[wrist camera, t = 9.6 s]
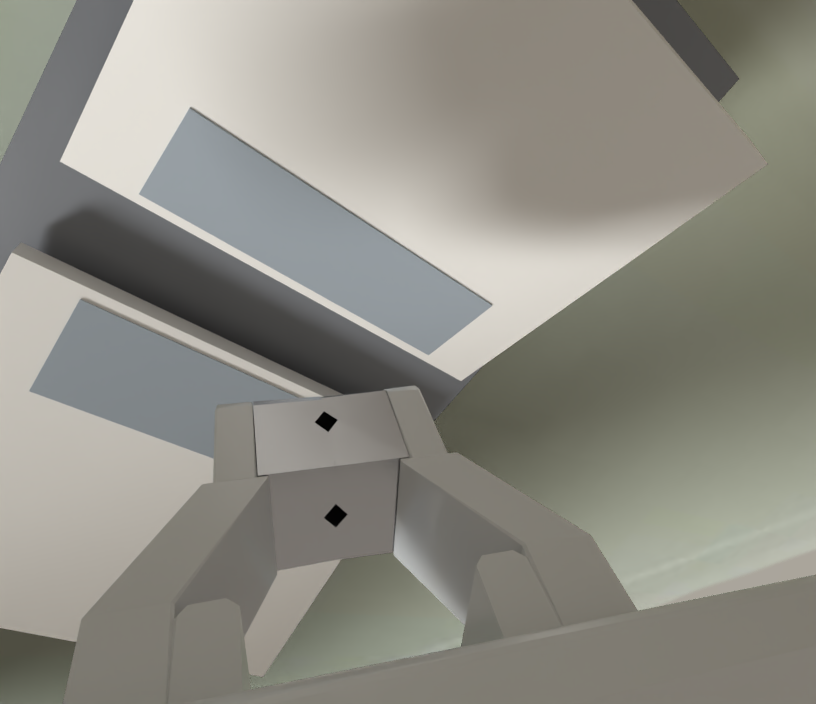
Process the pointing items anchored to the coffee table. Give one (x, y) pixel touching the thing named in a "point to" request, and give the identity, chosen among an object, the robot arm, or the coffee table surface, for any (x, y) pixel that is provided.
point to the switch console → (197, 259)
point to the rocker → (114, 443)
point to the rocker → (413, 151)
